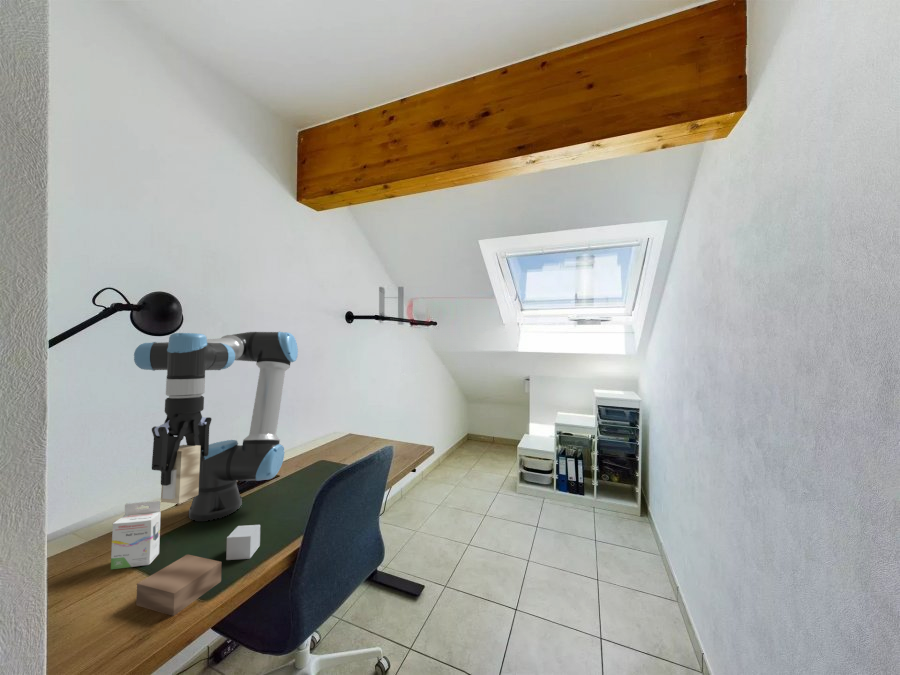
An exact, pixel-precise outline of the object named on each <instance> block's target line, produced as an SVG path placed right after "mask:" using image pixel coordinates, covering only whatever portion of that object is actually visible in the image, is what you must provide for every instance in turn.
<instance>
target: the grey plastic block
mask: <svg viewBox="0 0 900 675" xmlns="http://www.w3.org/2000/svg"><path fill="white" fill-rule="evenodd" d="M260 546H261V524H249V525H246V524H245V525H238V526H236V527H235V528H234V530H233V531H232V532H231V533H230V534H229V535H228V536H227V537H226V558H225V560H226V561H231V560H234V561H235V560H246V559H247V560H248V559H251V558H252V557H253V555H254V554H255V553H256V551H257V550H258V548H259V547H260Z"/></svg>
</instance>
